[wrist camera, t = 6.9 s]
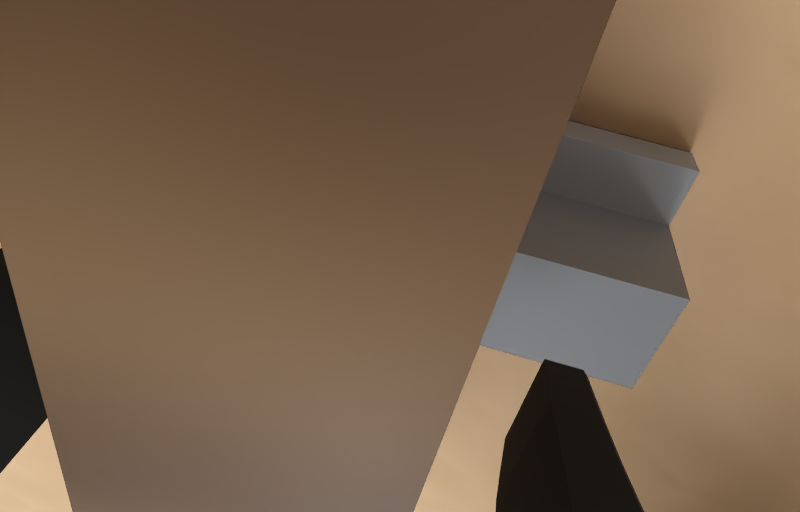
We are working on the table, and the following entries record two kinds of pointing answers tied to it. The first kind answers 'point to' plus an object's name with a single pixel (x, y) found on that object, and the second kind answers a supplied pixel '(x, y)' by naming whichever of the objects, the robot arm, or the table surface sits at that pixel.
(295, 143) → the batten
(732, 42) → the table surface
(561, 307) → the ridge
